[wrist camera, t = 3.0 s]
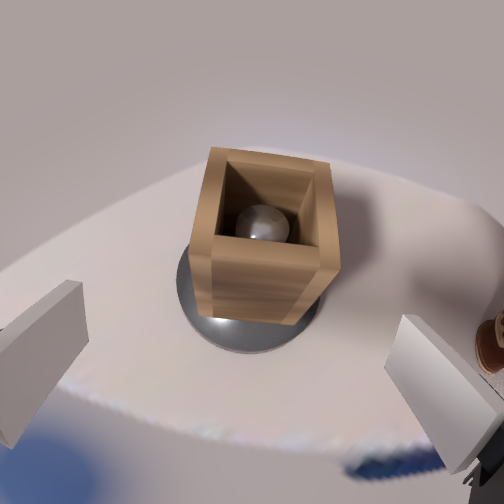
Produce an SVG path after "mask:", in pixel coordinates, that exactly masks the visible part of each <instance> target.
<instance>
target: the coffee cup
mask: <svg viewBox="0 0 504 504" xmlns="http://www.w3.org/2000/svg"><path fill="white" fill-rule="evenodd" d="M476 352H477V358H478V361H479V365H480V367H481V368H482V369H483V370H484V371H485V372H486V373H488V374H494V373H496V372H498V371H499V370H500V369H502V368H504V309H503V310H502V311H501V312H500V313H499V314H498V315H497V316H496V318H495V319H494V320H487V321H486V322H484V323H483V324H482V325H481V327H480V328H479V330H478V333H477V338H476Z"/></svg>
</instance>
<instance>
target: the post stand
mask: <svg viewBox="0 0 504 504" xmlns="http://www.w3.org/2000/svg"><path fill="white" fill-rule="evenodd" d="M288 234H289V223H288V221H287V219H286V217H285V216H284V215H283V214H282V213H281V212H280V211H279V210H277V209H275V208H273V207H271V206H267V205H254V206H250V207H248V208H246V209H245V210H243V211H242V212H241V213H240V215H239V217H238V219H237V224H236V232H235V237H237V238H246V239H255V240H263V241H272V242H280V243H285V242H286V240H287V237H288ZM189 244H190V243H189ZM188 249H189V245H188V246H187V247H186V249H185V251H184V253H183V254H182V257H181V259H180V262H179V265H178V270H177V278H176V284H177V292H178V297H179V301H180V304H181V307H182V309H183V312H184V314H185V316H186V318H187V320H188V321H189V323H190V324H191V325H192V327H193V328H194V329H195V330H196V331H197V332H198V333H199V334H200V335H201V336H202V337H203V338H204V339H206V340H207V341H208V342H210V343H212V344H214V345H215V346H217V347H219V348H222V349H224V350H227V351H231V352H235V353H242V354H258V353H264V352H268V351H272V350H275V349H277V348H279V347H282V346H284V345H285V344H287V343H288V342H290V341H292V340H293V339H294V338H295V337H296V336H297V335H298V334H300V333H301V332H302V331H303V330H304V328H305V327H306V326H307V325H308V324H309V322H310V321H311V319H312V318H313V316H314V314H315V312H316V310H317V308H318V304H319V301H320V296H319V297H318V298H317V299H316V300H315V302H314V303H313V304H312V305H311V306H310V308H309V309H308V310H307V311H306V312H305V313H304V315H303V316H302V317H301V318H300V319H299V320H298V321H297V323H296V324H295V325H283V324H271V323H260V322H249V321H239V320H230V319H221V318H212V317H204V316H199V314H198V309H197V304H196V298H195V292H194V287H193V281H192V275H191V269H190V263H189V256H188Z"/></svg>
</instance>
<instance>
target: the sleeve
mask: <svg viewBox="0 0 504 504" xmlns="http://www.w3.org/2000/svg"><path fill="white" fill-rule="evenodd" d="M254 205H267V206H271V207H273V208H275V209H277V210H279V211H280V212H281V213H282V214H283V215H284V216H285V217H286V219H287V221H288V223H289V234H288V237H287V240H286V242H285V243H280V242H272V241H263V240H255V239H246V238H237V237H235V232H236V224H237V219H238V217H239V215H240V213H241V212H242V211H243V210H245V209H246V208H248V207H250V206H254ZM188 256H189V263H190V269H191V275H192V281H193V287H194V292H195V298H196V304H197V309H198V314H199V316H204V317H212V318H221V319H230V320H239V321H249V322H260V323H271V324H283V325H295V324H296V323H297V321H298V320H299V319H300V318H301V317H302V316H303V315H304V313H305V312H306V311H307V310H308V309H309V308H310V306H311V305H312V304H313V303H314V302H315V300H316V299H317V298H318V297H319V296H320V295H321V293H322V292H323V291H324V290H325V289H326V287H327V286H328V285H329V284H330V282H331V281H332V280H333V279H334V278H335V276H336V275H337V274H338V273H339V271H340V270H341V260H340V248H339V237H338V227H337V218H336V209H335V200H334V192H333V185H332V177H331V170H330V164H329V163H325V162H320V161H314V160H308V159H302V158H296V157H290V156H283V155H277V154H269V153H262V152H254V151H246V150H237V149H228V148H217V147H211V150H210V154H209V158H208V162H207V166H206V171H205V175H204V179H203V183H202V188H201V192H200V196H199V201H198V205H197V210H196V215H195V219H194V224H193V229H192V234H191V239H190V244H189V249H188Z"/></svg>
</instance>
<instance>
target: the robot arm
mask: <svg viewBox="0 0 504 504" xmlns="http://www.w3.org/2000/svg"><path fill="white" fill-rule="evenodd" d="M88 342H89V338H88V331H87V324H86V316H85V307H84V297H83V286H82V282H77V281H71V280H66V281H64V282H63V283H62V284H60V285H59V286H58V287H56V288H55V289H54V290H52V291H51V292H50V293H48V294H47V295H46V296H44V297H43V298H42V299H40V300H39V301H38V302H36V303H35V304H34V305H33V306H31V307H30V308H29V309H27V310H26V311H25V312H24V313H22V314H21V315H20V316H19V317H17V318H16V319H15V320H14V321H12V322H11V323H10V324H9V325H7V326H6V327H5V328H3V329H1V330H0V443H1V444H3V445H5V446H7V447H9V448H11V449H13V447H14V446H15V444H16V443H17V441H18V440H19V438H20V437H21V435H22V433H23V432H24V430H25V429H26V427H27V426H28V424H29V423H30V421H31V420H32V418H33V417H34V415H35V414H36V413H37V411H38V410H39V408H40V407H41V405H42V404H43V402H44V401H45V400H46V398H47V397H48V395H49V394H50V393H51V391H52V390H53V388H54V387H55V386H56V384H57V383H58V381H59V380H60V379H61V377H62V376H63V375H64V373H65V372H66V371H67V369H68V368H69V367H70V365H71V364H72V363H73V361H74V360H75V359H76V357H77V356H78V355H79V353H80V352H81V351H82V350H83V348H84V347H85V346H86V344H87V343H88ZM384 368H385V370H386V371H387V373H388V374H389V376H390V377H391V379H392V380H393V382H394V383H395V385H396V387H397V388H398V390H399V391H400V393H401V394H402V396H403V397H404V399H405V401H406V402H407V404H408V405H409V407H410V408H411V410H412V412H413V413H414V415H415V416H416V418H417V419H418V421H419V423H420V424H421V426H422V427H423V429H424V431H425V432H426V434H427V436H428V437H429V439H430V441H431V442H432V444H433V445H434V447H435V449H436V450H437V452H438V454H439V455H440V457H441V459H442V461H443V462H444V464H445V466H446V467H447V469H448V471H449V473H450V474H451V475H453V474H456V473H458V472H460V471H463V470H465V469H467V468H468V467H469V465H470V464H471V463H472V462H473V461H474V460H475V458H476V457H477V458H478V460H479V461H480V462H479V464H478V465H477V466H476V467H475V468H474V469H473V470H472V472H471V473H470V474H469V475H468V476H467V477H466V478H465V479H464V481H463V484H466V483H467V482H468V480H469V479H470V478H472V477H473V480H472V481H471V482H470V483H469V486H472V488H471V493H470V499H469V503H468V504H504V399H503V398H502V397H501V396H500V395H499V394H498V393H497V391H496V390H494V388H493V387H492V386H491V385H490V384H488V382H487V381H486V380H485V379H484V378H483V377H482V376H481V375H480V374H479V373H477V372H476V371H475V370H474V369H473V368H472V367H471V366H470V365H469V364H468V363H467V362H466V361H465V360H464V359H463V358H462V357H461V356H460V355H459V354H458V353H457V352H456V351H455V350H454V349H453V348H452V347H451V346H450V345H449V344H448V343H447V342H446V341H445V340H443V339H442V338H441V337H440V336H439V335H438V334H437V333H436V332H435V331H434V330H433V329H432V328H431V327H430V326H429V325H428V324H427V323H425V322H424V321H423V320H422V319H421V318H420V317H419V316H418V315H417V314H403V316H402V319H401V322H400V325H399V328H398V331H397V334H396V337H395V339H394V342H393V345H392V348H391V350H390V353H389V356H388V358H387V361H386V364H385V366H384Z"/></svg>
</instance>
